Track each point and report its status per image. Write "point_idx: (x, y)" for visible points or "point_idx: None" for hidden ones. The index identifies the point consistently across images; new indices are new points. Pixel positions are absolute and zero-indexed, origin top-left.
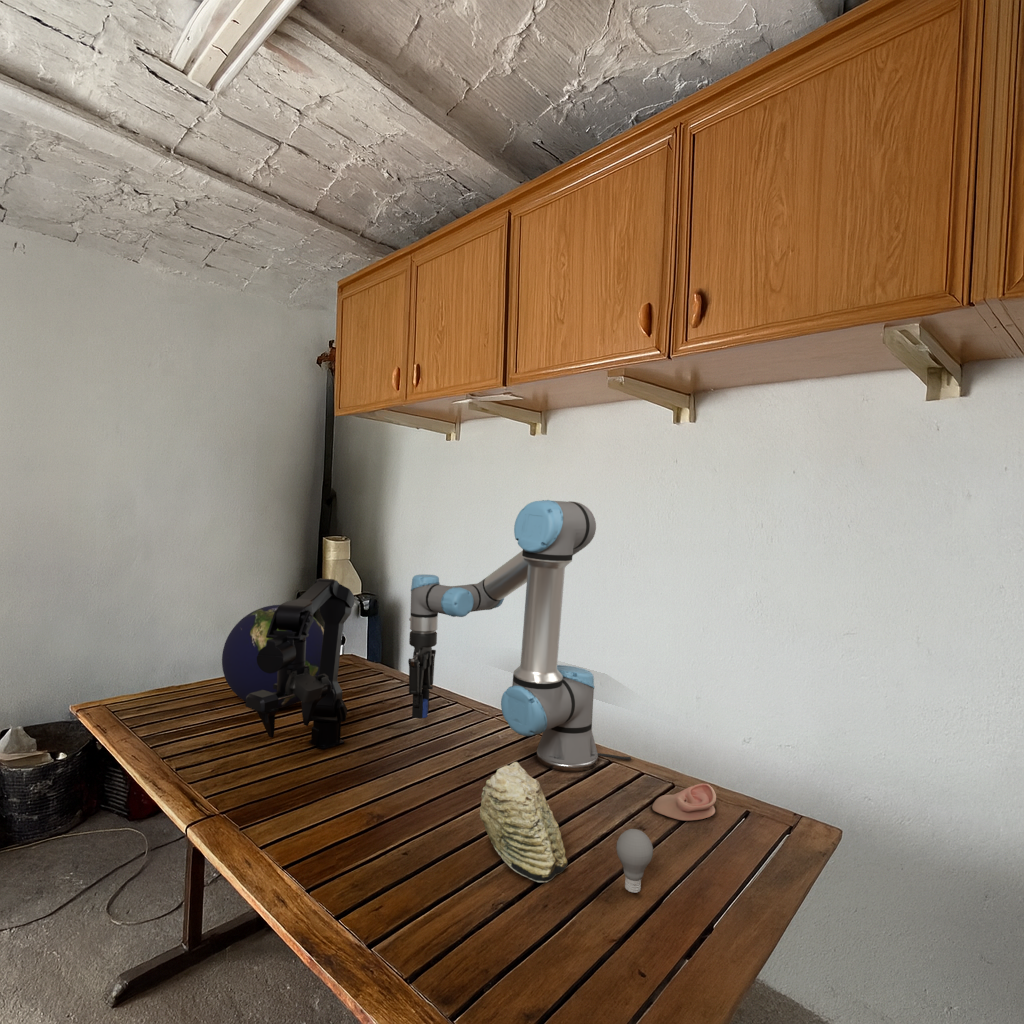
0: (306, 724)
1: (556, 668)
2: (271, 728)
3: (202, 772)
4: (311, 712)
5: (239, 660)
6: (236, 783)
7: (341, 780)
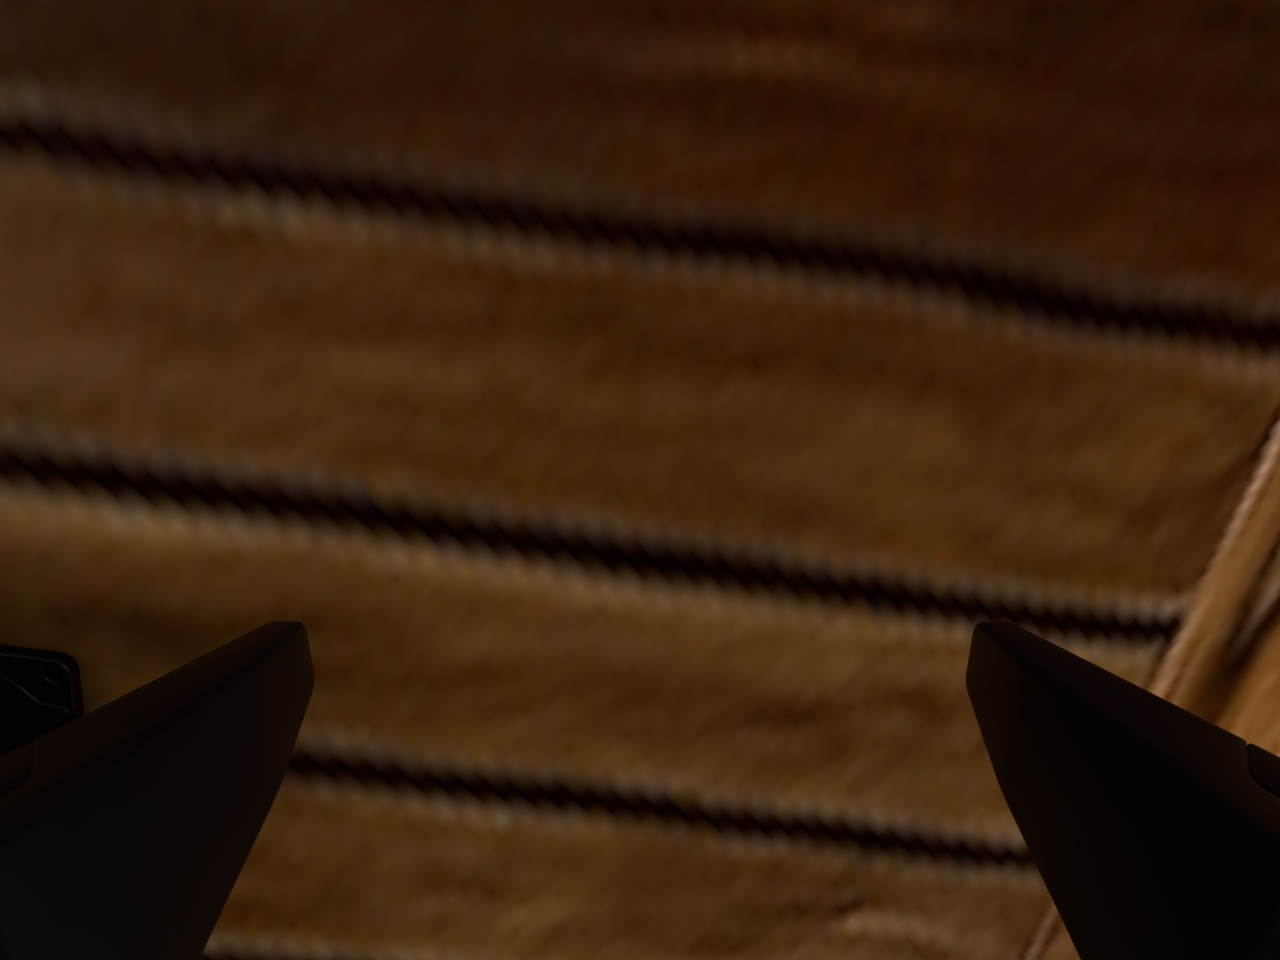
0: (296, 641)
1: None
2: (1146, 698)
3: (903, 929)
4: (109, 730)
5: None
6: (898, 657)
7: (290, 6)
